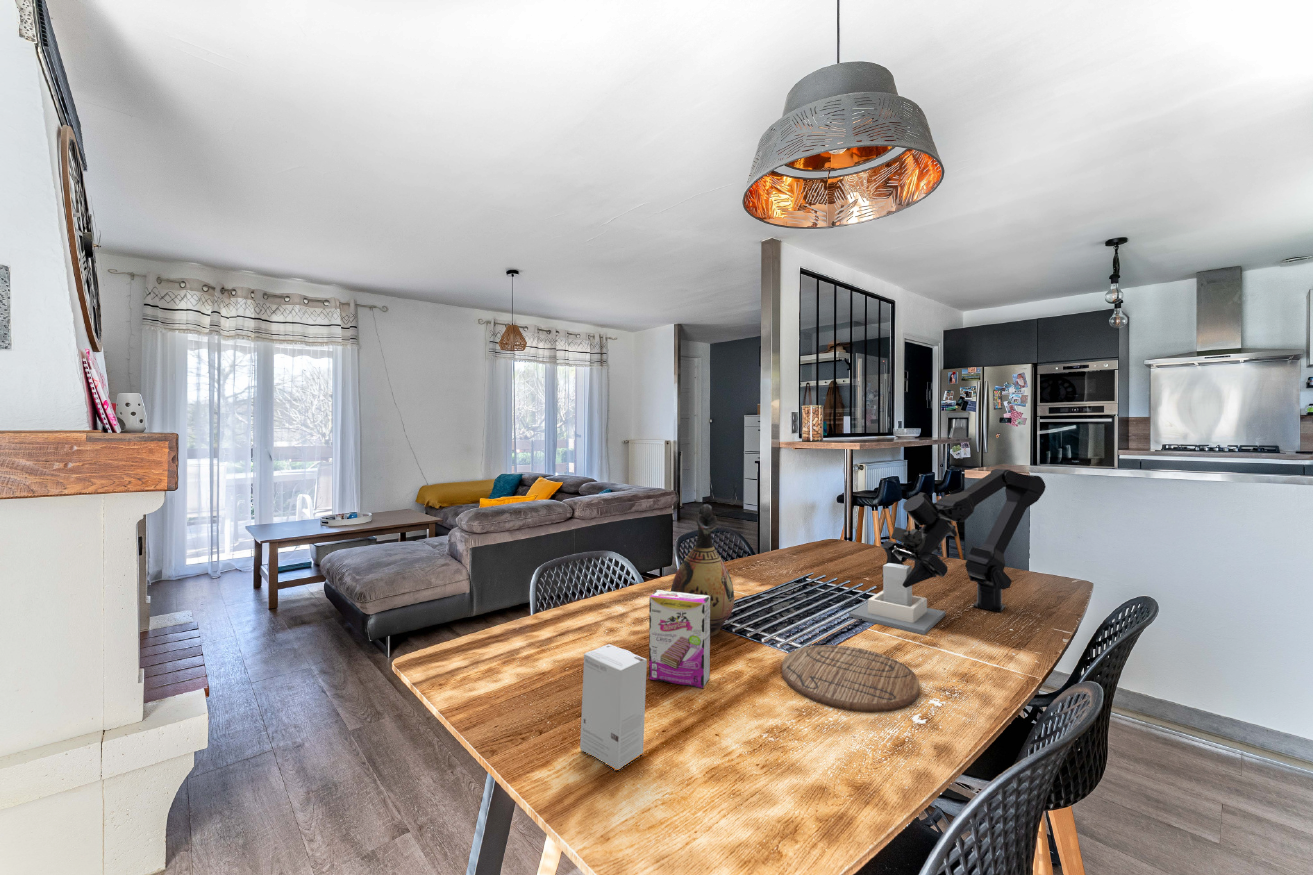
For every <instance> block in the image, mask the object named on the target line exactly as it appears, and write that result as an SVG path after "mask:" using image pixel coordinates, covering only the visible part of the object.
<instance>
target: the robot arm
mask: <svg viewBox="0 0 1313 875" xmlns="http://www.w3.org/2000/svg"><path fill="white" fill-rule="evenodd" d="M1003 488H1005V489H1004V492H1005V499H1006V500H1005V502H1004V504H1003V506H1002V509H1001V510H1000V512H999V515H998V516H997V518H996V520H995V522H994V524H993V526H992V528H991V530H990V532H989V534H988V536H987V538H986V540H985V541H984V543H983V545H981V546H980V547H978V546H977V547H976V546H973V547H971V549H970V551H969V554H968V556H967V557H965V560H966V562H965V569H966V572H967V575H968V578H969V580H970V582H974V583H976V588H977V589H976V590H977V592H976V602H974V604H972V607H973V608H976V609H977V608H978V609H982V610H988V611H993V612H998V613H1001V612H1002V611H1003V610H1004V609H1005V607H1006V604H1003V603H1002V602H1003V598H1002V597H1003V590H1007V589H1010V588H1011V585H1012V584H1011V583H1012V579H1011V578H1010V577H1009V576H1008V574H1007V573H1006V572H1005V571H1004V569H1005V568H1006V561H1005V556H1004V554H1005V552H1006V550H1007V548H1008V546H1009V544H1010V541H1011V540H1012V538H1013V535H1014V534H1015V532H1016V530H1017V527H1018V526H1019V525H1020V522H1021V521H1022V518H1023V516H1024V514H1025V512H1026V510H1027V509H1028V508H1029V507H1031V506H1033V505H1034V504H1035V503H1037V502H1038V501H1039V500H1040V498H1041V497H1042V495H1043V494H1044V492H1045V491H1046V483H1045V481H1044V479H1043V478H1042V476H1039V475H1035V474H1034V475H1033V474H1023V473H1019V472H1015V471H1013V470H1011V469H1008V468H1007V469H1006V468H994V469H992V470H991V471H990V473H988V474H987V475H985V476H984V477H981V479H979V480H978V481H976V482H974V483H973V484H971V485H970V486H968V487H967V488H966V489H964V490H962V491H960V492H957V493H953V494H948V495H946V496H944V497H941V498H939V499H938V500H937V501H936V502H933V501H932V500H931V499H930V497H929V495H928V494H927V493H926V492H919V493H918V494H917V495H914V496H911V497H910V498H909V499H906V500H905V501H904V504H903V506H902V508H903V510H904V511H905V512H906V513H907V515H908V516H909V517H910V518H911V519H912V520H913V521H914V522H915V524H917V525H918V526H922V527H921V528H920V529H916V528H912V529H911V530H908V529H906V528H903V527H898V526H895V527H894V528H893V531H892V534H891V536H890V538H891V539H892V540H896V541H898V542H901V543H898V542H896V541H892V540H885V541H884V542H883V543H882V545H881V548H882V549H883V550H884V552H885V553H886V558H887V559H886V562H885V564H887V563H893V564H900V565H905V564H904V562H906V561H907V560H909V561H913V562H914V565H913V568H912V571H911V572H910V574H909V575H908V576H907V578H906V579H905V581H904V583H903V586H904V587H905V588H907V587H909V586H912V587H913V586H914V585H917V584H918V583H921V582H924V581H926V580H929V579H932V578H937V577H941V578H944V577H945V576H946V575H947V574H948V567H949V566H948V565H947V564H946V563H945V562H944V561H943V559H941V558H940V557H939V556H938V554H935V553H934V552H938V553H940V551H941V550H942V549H941V547H940V545H941V544H942V542H943V541H944V540H945V539H946V538H947V536H948V535H949V536H952V537H957V535H958V533H957V530H956V526H955V525H953V524H950V523H949V521H951V522H955V523H963V522H966V520H968V519H969V517H971V516H972V515H973V513H974V511H975V508H976V507H977V506H978V505H979V504H981V503H982V502H984V501H985V500H987V499H988V498H989V497H991V496H993V495H994V494H996V493H997V492H999V491H1000V490H1001V489H1003ZM904 548H905V549H904ZM881 577H882V578H883V573H882V574H881Z"/></svg>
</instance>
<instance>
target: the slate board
mask: <svg viewBox="0 0 1313 875" xmlns="http://www.w3.org/2000/svg"><path fill="white" fill-rule="evenodd" d="M848 617H849V618H851V617H853V618H852V619H855V618H856V620H859V619H862V620H861V621H864V622H868V623H873V624H877V625H881V626H885V627H890V628H893V629H898V630H902V631H907V632H911V633H913V634H914V633H916V634H920V635H924V636H925V635H926V634H927V633H928V632H929V631H930V630H931V629H932V628H934V627H935V625H936V624H937V623H939V622H940V621H941V620H942V619H943V618H944V617H946V611H945V610H941V609H940V610H939V609H935V608H931V607H927V612H926V613H925V614H924V615H922V616H921V617H920V618H919V619H917V620H916V621H915V622H914V623H911V622H906V621H902V620H897V619H893V618H889V617H884V616H880V615H875V614H871V613H868V601H867V602H865V603H863V604H861V605H860V606H858V607H857V608H855V609H854V610H852V611H850V612H848Z"/></svg>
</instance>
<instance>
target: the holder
mask: <svg viewBox="0 0 1313 875" xmlns="http://www.w3.org/2000/svg"><path fill="white" fill-rule="evenodd" d="M867 602H868V613H871V614H875V615H880V616H884V617H889V618H893V619H897V620H902V621H906V622H911V623H914V622H915V621H916V620H917V619H919V618H920V617H921V616H922V615H924V614H925V613H926V612H927V608H928V598H926V597H922V596H917V595H912V606H911V607H908V606H904V605H899V604H894V603H889V602H884V592H883V590H881V591H879V592H878V593H876V594H874V595H873V596H871V597H870V598H867Z"/></svg>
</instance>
